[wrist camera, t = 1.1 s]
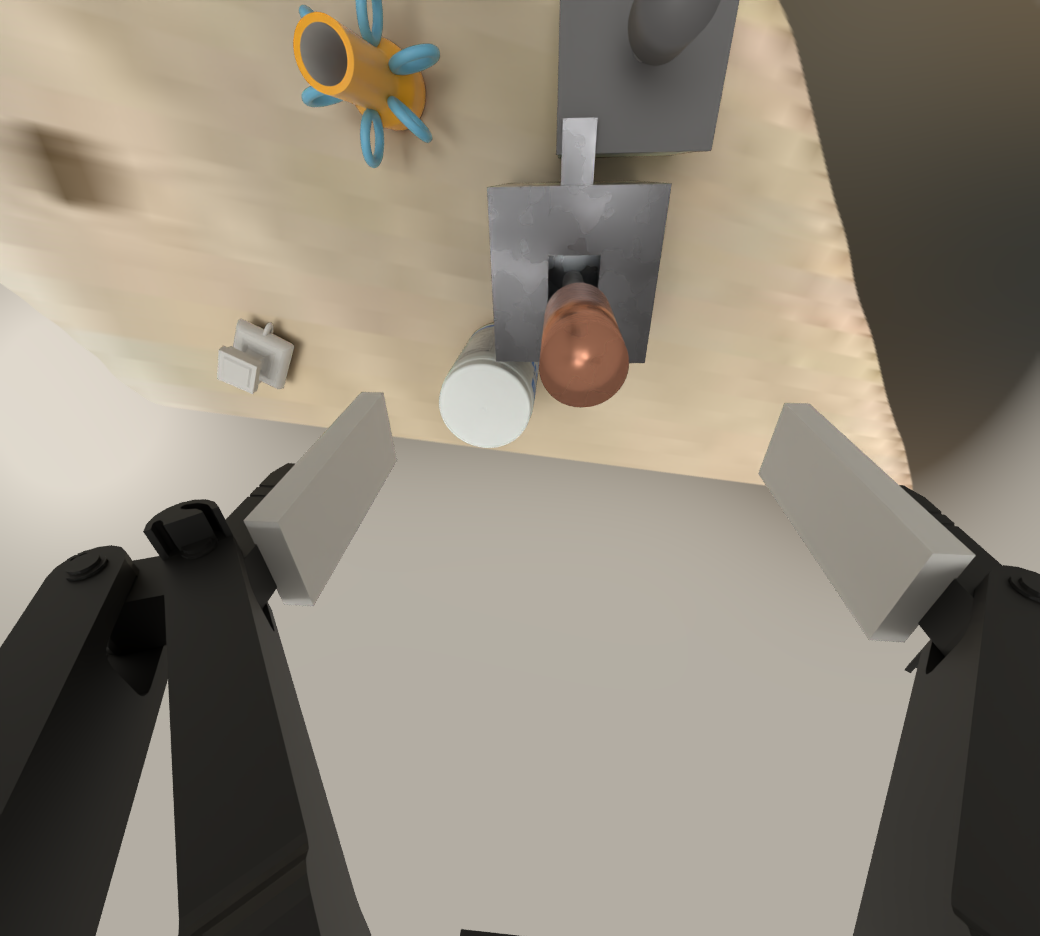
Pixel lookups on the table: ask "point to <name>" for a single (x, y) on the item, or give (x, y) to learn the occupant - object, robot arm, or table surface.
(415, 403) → the table surface
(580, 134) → the grey box
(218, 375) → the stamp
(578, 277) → the copper lever handle
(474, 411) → the supplement tub
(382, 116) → the orange looped holder
